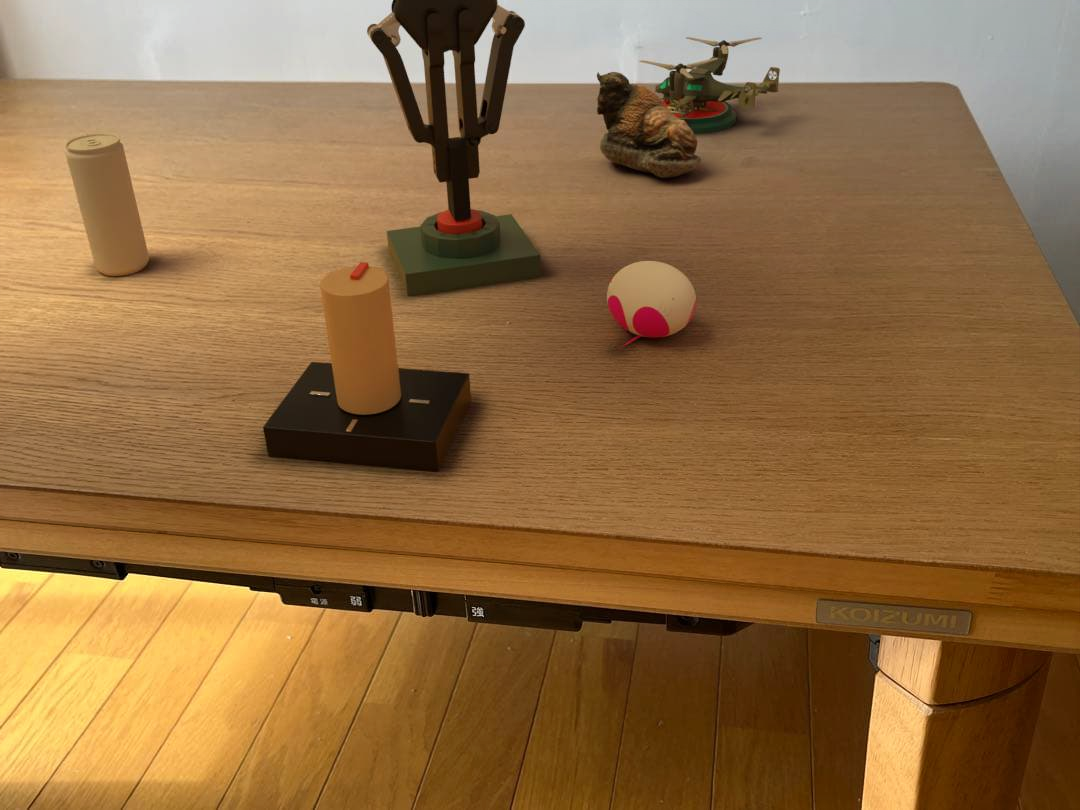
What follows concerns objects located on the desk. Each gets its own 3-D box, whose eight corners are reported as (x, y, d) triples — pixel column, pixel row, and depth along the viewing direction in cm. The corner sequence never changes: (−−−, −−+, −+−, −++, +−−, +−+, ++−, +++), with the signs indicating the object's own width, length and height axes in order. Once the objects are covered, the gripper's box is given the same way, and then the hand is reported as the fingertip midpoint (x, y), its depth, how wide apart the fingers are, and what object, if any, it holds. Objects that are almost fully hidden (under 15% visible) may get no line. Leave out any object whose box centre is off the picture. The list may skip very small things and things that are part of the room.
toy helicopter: (683, 92, 145) (686, 26, 141) (795, 108, 138) (802, 39, 133) (608, 136, 131) (609, 64, 126) (729, 156, 124) (733, 81, 119)
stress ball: (601, 362, 92) (568, 318, 87) (648, 284, 94) (619, 237, 88) (676, 388, 87) (646, 344, 82) (724, 306, 89) (698, 258, 84)
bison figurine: (709, 171, 120) (714, 77, 115) (678, 191, 115) (682, 94, 110) (613, 153, 126) (614, 63, 120) (580, 172, 121) (579, 79, 116)
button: (443, 245, 98) (441, 227, 97) (434, 229, 101) (433, 210, 100) (487, 239, 98) (486, 221, 97) (477, 223, 102) (476, 205, 101)
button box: (407, 297, 96) (403, 254, 94) (388, 252, 104) (384, 212, 102) (541, 277, 98) (539, 235, 96) (512, 235, 107) (510, 195, 104)
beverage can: (101, 282, 100) (68, 154, 94) (91, 264, 104) (59, 138, 97) (155, 270, 102) (126, 143, 96) (144, 252, 106) (115, 129, 99)
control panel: (268, 457, 75) (261, 425, 74) (315, 390, 83) (310, 359, 81) (438, 473, 73) (435, 439, 72) (471, 402, 81) (469, 371, 79)
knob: (390, 417, 74) (375, 292, 70) (328, 412, 75) (309, 288, 70) (409, 384, 78) (396, 263, 73) (349, 380, 79) (333, 260, 74)
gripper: (508, -85, 91) (519, 190, 103) (349, -73, 88) (380, 208, 100) (532, -71, 84) (541, 219, 97) (362, -58, 82) (394, 239, 94)
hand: (459, 213), depth 99 cm, fingers closed
